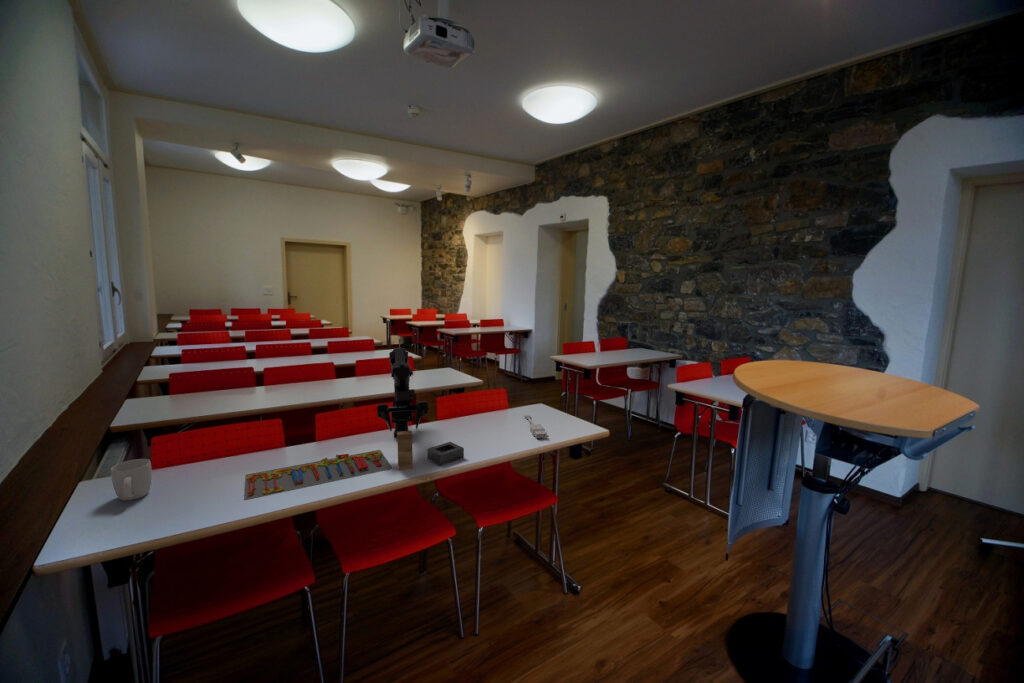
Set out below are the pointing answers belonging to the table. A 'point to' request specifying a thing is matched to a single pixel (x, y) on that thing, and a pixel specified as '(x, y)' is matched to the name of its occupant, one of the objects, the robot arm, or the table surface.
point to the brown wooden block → (405, 450)
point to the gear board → (314, 473)
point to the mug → (132, 479)
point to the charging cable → (535, 428)
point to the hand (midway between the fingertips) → (404, 429)
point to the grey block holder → (445, 453)
